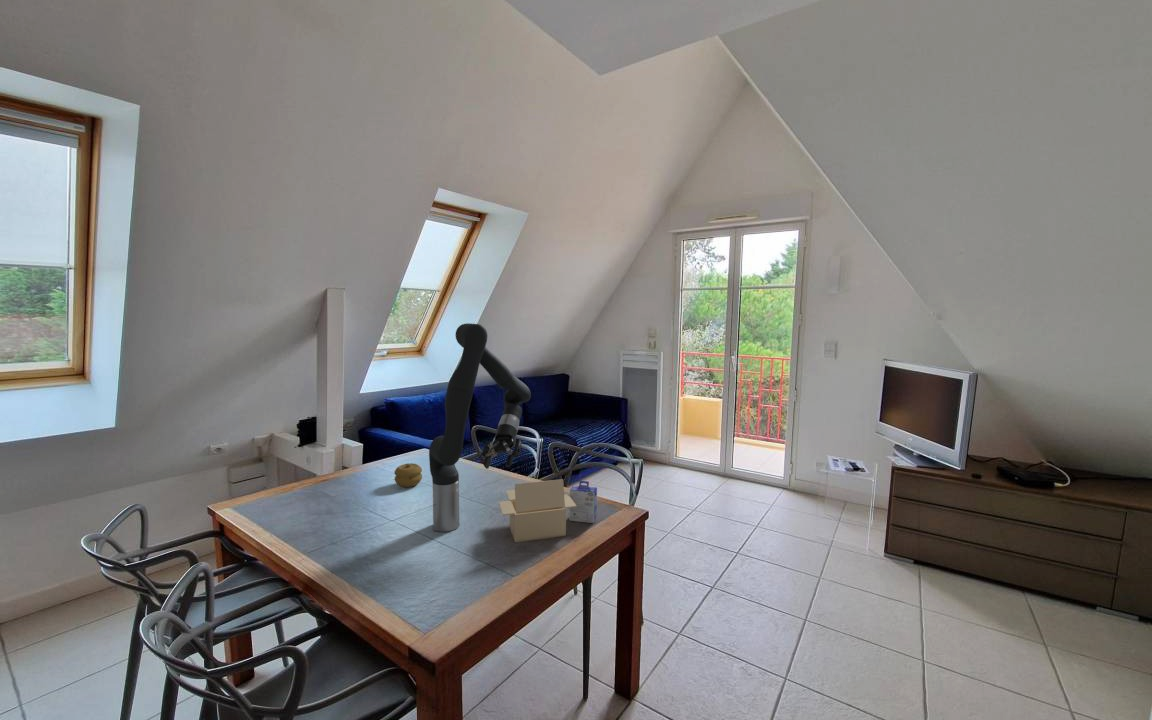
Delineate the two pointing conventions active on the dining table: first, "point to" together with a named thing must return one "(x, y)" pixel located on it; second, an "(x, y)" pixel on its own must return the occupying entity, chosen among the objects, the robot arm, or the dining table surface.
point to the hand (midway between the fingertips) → (496, 466)
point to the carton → (535, 520)
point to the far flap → (539, 495)
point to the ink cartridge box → (583, 503)
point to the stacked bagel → (408, 475)
